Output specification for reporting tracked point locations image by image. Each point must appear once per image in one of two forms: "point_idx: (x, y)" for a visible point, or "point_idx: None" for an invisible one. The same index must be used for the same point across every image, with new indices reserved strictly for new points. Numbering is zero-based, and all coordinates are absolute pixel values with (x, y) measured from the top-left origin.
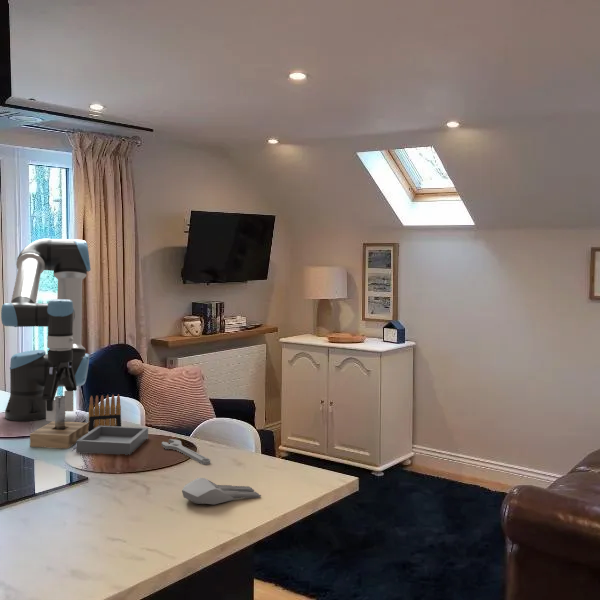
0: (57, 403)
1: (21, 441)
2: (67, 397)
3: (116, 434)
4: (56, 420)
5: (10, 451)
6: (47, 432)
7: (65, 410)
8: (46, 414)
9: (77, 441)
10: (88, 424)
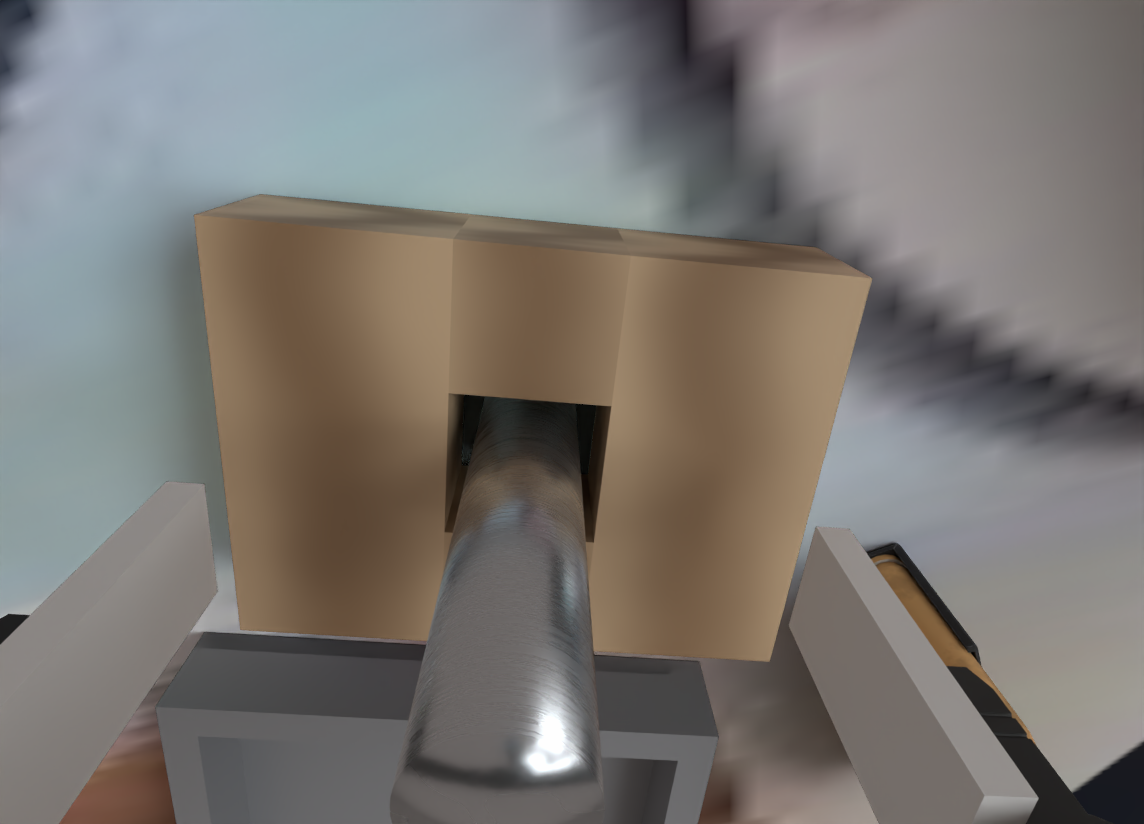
0: (417, 693)
1: (446, 3)
2: (892, 730)
3: (648, 803)
4: (462, 501)
5: (27, 38)
6: (307, 401)
7: (815, 545)
8: (114, 543)
9: (159, 711)
10: (919, 582)
